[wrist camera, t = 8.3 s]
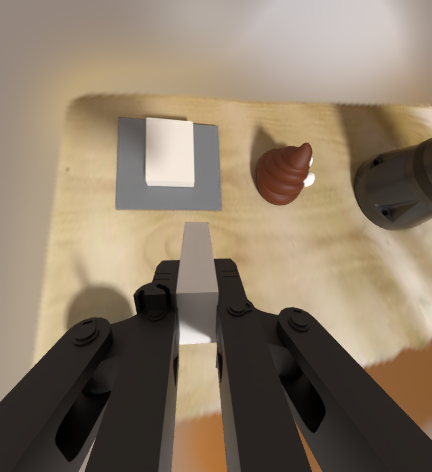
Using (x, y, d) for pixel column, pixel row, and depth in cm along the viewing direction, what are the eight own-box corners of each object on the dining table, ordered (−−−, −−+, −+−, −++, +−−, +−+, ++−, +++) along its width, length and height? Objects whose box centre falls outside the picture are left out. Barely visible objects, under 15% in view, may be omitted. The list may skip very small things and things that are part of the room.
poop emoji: (251, 152, 36) (276, 113, 26) (295, 156, 37) (332, 120, 28) (255, 206, 34) (283, 184, 25) (300, 207, 36) (341, 187, 26)
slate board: (217, 128, 35) (217, 126, 34) (221, 211, 33) (221, 210, 32) (119, 119, 32) (118, 117, 31) (116, 209, 30) (115, 208, 29)
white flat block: (193, 187, 32) (192, 131, 33) (194, 181, 30) (192, 121, 31) (147, 186, 30) (148, 127, 32) (145, 180, 28) (146, 117, 30)
